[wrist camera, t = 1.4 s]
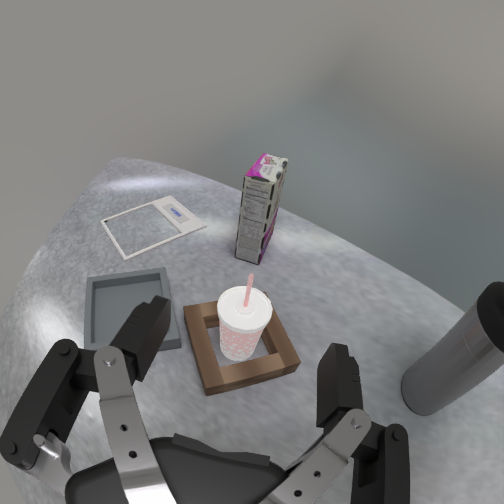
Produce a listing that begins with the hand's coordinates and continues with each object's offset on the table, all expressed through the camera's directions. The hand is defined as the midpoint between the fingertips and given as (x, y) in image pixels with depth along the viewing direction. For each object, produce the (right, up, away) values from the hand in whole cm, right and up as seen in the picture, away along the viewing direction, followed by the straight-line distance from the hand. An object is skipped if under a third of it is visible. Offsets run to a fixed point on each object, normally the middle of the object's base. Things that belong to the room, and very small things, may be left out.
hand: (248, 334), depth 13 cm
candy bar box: (+1, +5, +40) cm, 40 cm away
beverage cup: (-2, -9, +23) cm, 25 cm away
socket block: (-2, -9, +23) cm, 24 cm away
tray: (-17, -5, +23) cm, 30 cm away
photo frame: (-20, +9, +40) cm, 46 cm away
